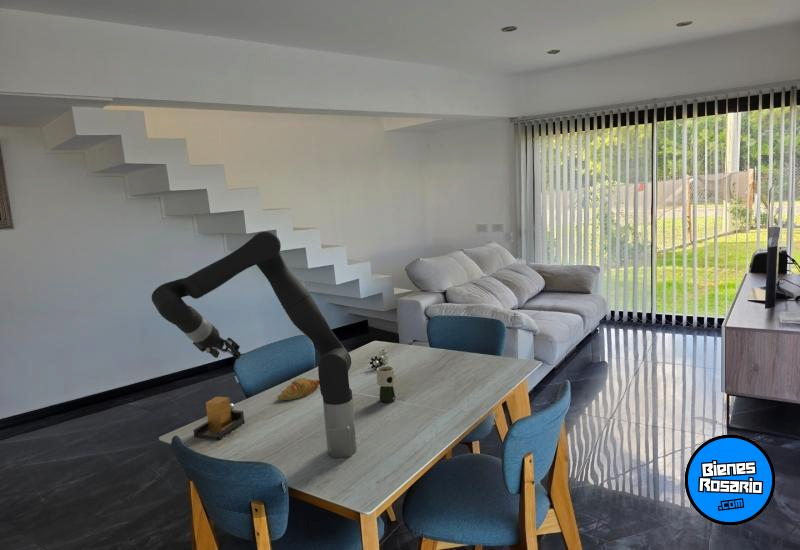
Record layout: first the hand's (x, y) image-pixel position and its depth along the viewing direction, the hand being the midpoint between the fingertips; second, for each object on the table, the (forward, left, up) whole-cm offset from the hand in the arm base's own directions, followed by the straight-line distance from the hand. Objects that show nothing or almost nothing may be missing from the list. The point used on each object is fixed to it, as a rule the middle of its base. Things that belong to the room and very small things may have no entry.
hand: (228, 355), depth 181 cm
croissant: (+43, -16, -31) cm, 55 cm away
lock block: (+13, +9, -29) cm, 33 cm away
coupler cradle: (+13, +9, -31) cm, 34 cm away
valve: (+71, -52, -31) cm, 94 cm away
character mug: (+27, -52, -31) cm, 67 cm away
